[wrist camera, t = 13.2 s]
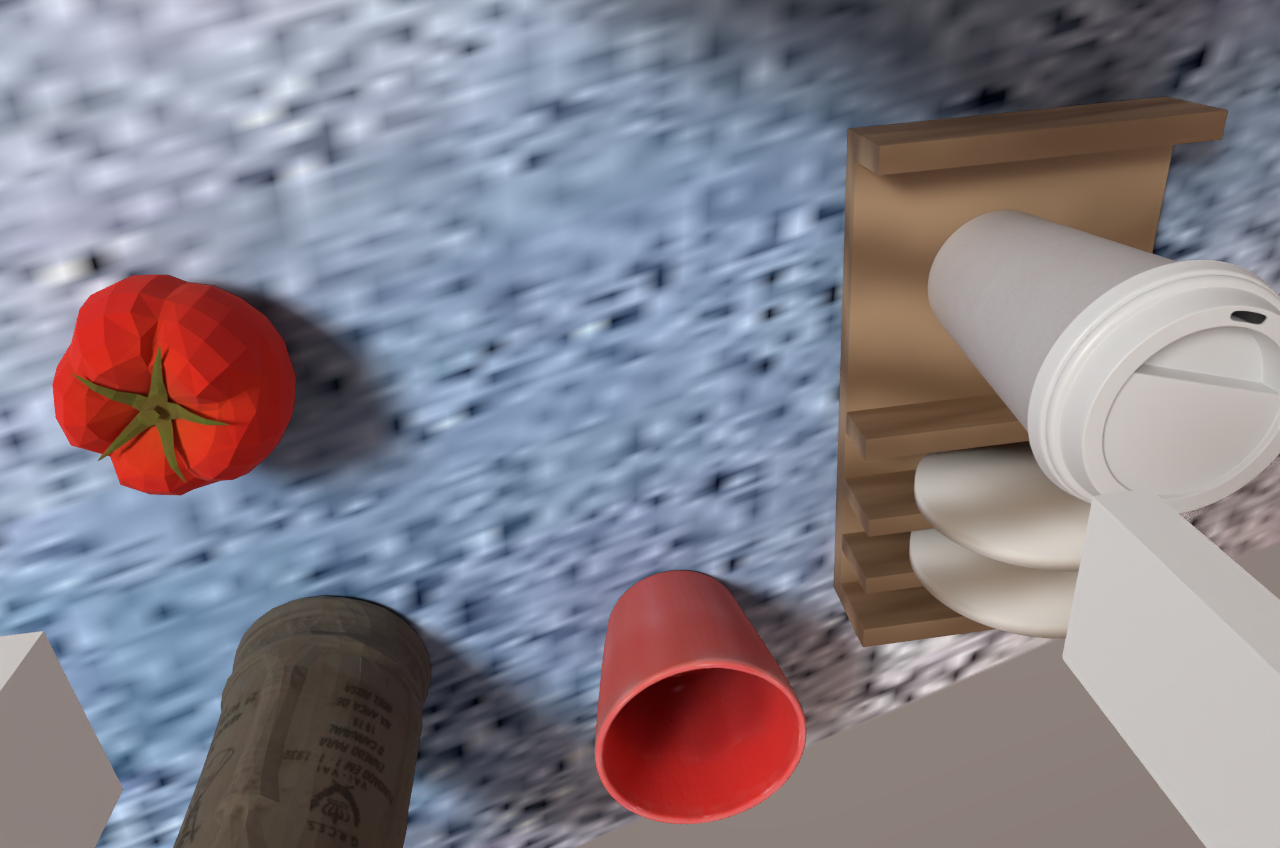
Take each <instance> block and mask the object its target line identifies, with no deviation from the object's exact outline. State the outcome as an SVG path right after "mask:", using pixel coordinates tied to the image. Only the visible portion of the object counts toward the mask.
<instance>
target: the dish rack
mask: <svg viewBox="0 0 1280 848" xmlns="http://www.w3.org/2000/svg"><path fill="white" fill-rule="evenodd" d="M1227 114H1228V110H1225V109H1221V108H1216V107H1211V106H1207V105H1202V104H1198V103H1193V102H1188V101H1184V100H1179V99H1175V98H1170V97H1156V98H1146V99H1136V100H1126V101H1116V102H1107V103H1097V104H1087V105H1077V106H1067V107H1057V108H1047V109H1037V110H1027V111H1018V112H1008V113H998V114H988V115H978V116H968V117H958V118H948V119H939V120H929V121H919V122H909V123H899V124H889V125H879V126H869V127H860V128H850V129H848V139H847V171H846V204H845V237H844V269H843V302H842V335H841V368H840V400H839V433H838V466H837V499H836V531H835V564H834V588H835V591H836V593H837V595H838V597H839V599H840V601H841V603H842V605H843V607H844V609H845V611H846V613H847V615H848V617H849V619H850V622H851V624H852V626H853V628H854V630H855V632H856V634H857V636H858V638H859V640H860V642H861V644H862V646H863V647H868V646H875V645H883V644H890V643H897V642H904V641H912V640H919V639H926V638H934V637H941V636H948V635H955V634H963V633H970V632H977V631H984V630H992V629H998V630H1002V631H1006V632H1010V633H1014V634H1019V635H1025V636H1031V637H1041V638H1066V635H1067V630H1068V625H1069V619H1070V614H1071V609H1072V603H1073V598H1074V593H1075V588H1076V582H1077V577H1078V572H1079V567H1080V561H1081V556H1082V551H1083V545H1084V540H1085V535H1086V530H1087V524H1088V519H1089V514H1090V508H1091V504H1090V503H1088V502H1085V501H1083V500H1081V499H1079V498H1077V497H1075V496H1072V495H1070V494H1068V493H1067V492H1065V491H1063V490H1062V489H1060V488H1059V487H1058V486H1056V485H1055V484H1054V483H1053V482H1052V481H1051V480H1050V479H1049V478H1048V477H1047V476H1046V475H1045V474H1044V472H1043V471H1042V470H1041V468H1040V466H1039V465H1038V463H1037V461H1036V459H1035V457H1034V454H1033V452H1032V449H1031V445H1030V441H1029V435H1028V432H1027V430H1026V429H1025V428H1024V427H1023V425H1022V424H1021V423H1020V422H1019V420H1018V419H1017V418H1016V417H1015V415H1014V414H1013V413H1012V412H1011V410H1010V409H1009V408H1008V407H1007V405H1006V404H1005V403H1004V402H1003V400H1002V399H1001V398H1000V397H999V396H998V394H997V393H996V392H995V391H994V389H993V388H992V387H991V386H990V384H989V383H988V382H987V381H986V379H985V378H984V377H983V376H982V375H981V373H980V372H979V371H978V370H977V368H976V367H975V366H974V365H973V363H972V362H971V361H970V360H969V359H968V357H967V356H966V355H965V354H964V352H963V351H962V350H961V349H960V348H959V346H958V345H957V344H956V343H955V341H954V340H953V339H952V338H951V336H950V335H949V334H948V333H947V332H946V330H945V329H944V328H943V327H942V325H941V324H940V323H939V322H938V320H937V319H936V317H935V316H934V314H933V312H932V310H931V307H930V304H929V299H928V278H929V274H930V270H931V267H932V264H933V262H934V259H935V257H936V255H937V253H938V252H939V250H940V249H941V247H942V246H943V244H944V243H945V242H946V240H947V239H948V238H949V237H950V236H951V235H952V234H953V233H954V232H955V231H956V230H957V229H959V228H960V227H961V226H962V225H964V224H965V223H967V222H969V221H970V220H972V219H974V218H976V217H978V216H980V215H983V214H986V213H989V212H993V211H999V210H1016V211H1021V212H1025V213H1028V214H1031V215H1034V216H1037V217H1041V218H1044V219H1047V220H1050V221H1053V222H1056V223H1059V224H1062V225H1065V226H1068V227H1071V228H1074V229H1077V230H1080V231H1083V232H1087V233H1090V234H1093V235H1096V236H1099V237H1102V238H1105V239H1108V240H1111V241H1114V242H1117V243H1120V244H1124V245H1127V246H1130V247H1133V248H1136V249H1139V250H1142V251H1145V252H1149V253H1152V252H1153V247H1154V241H1155V236H1156V231H1157V226H1158V221H1159V216H1160V211H1161V206H1162V201H1163V196H1164V191H1165V186H1166V180H1167V175H1168V170H1169V165H1170V160H1171V155H1172V150H1173V145H1175V144H1184V143H1194V142H1203V141H1213V140H1222V136H1223V132H1224V127H1225V123H1226V118H1227Z"/></svg>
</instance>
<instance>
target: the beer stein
mask: <svg viewBox="0 0 1280 848" xmlns="http://www.w3.org/2000/svg"><path fill="white" fill-rule="evenodd" d="M430 680H431V665H430V661H429V656H428V652H427V650H426V648H425V646H424V644H423V642H422V640H421V639H420V638H419V636H418V635H417V634H416V633H415V632H414V631H413V629H412V628H411V627H410V626H409V625H408V624H407V623H406V622H405V621H403V620H402V619H401V618H400V617H398V616H397V615H395V614H393V613H392V612H390V611H388V610H387V609H385V608H383V607H380V606H377V605H374V604H371V603H368V602H365V601H361V600H356V599H350V598H343V597H330V596H317V597H307V598H301V599H297V600H293V601H290V602H288V603H285V604H283V605H281V606H278V607H276V608H273V609H271V610H270V611H268V612H267V613H266V614H264V615H263V616H261V617H260V618H259V619H258V620H257V621H256V622H255V623H254V624H253V625H252V626H251V627H250V628H249V629H248V631H247V632H246V633H245V634H244V636H243V638H242V640H241V642H240V644H239V646H238V648H237V651H236V655H235V660H234V664H233V673H232V674H231V676H230V677H229V678H228V680H227V683H226V685H225V688H224V690H223V693H222V701H221V715H220V719H219V722H218V725H217V728H216V731H215V734H214V737H213V740H212V743H211V746H210V749H209V752H208V755H207V758H206V761H205V764H204V767H203V770H202V773H201V776H200V778H199V781H198V784H197V786H196V789H195V792H194V794H193V797H192V800H191V802H190V805H189V807H188V810H187V813H186V815H185V818H184V821H183V823H182V826H181V829H180V831H179V834H178V837H177V839H176V842H175V844H174V847H173V848H403V844H404V840H405V835H406V830H407V820H408V809H409V804H410V798H411V792H412V786H413V780H414V773H415V766H416V760H417V755H418V750H419V745H420V736H421V731H422V715H423V709H422V705H423V703H424V701H425V699H426V696H427V693H428V689H429V685H430Z"/></svg>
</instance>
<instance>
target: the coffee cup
mask: <svg viewBox="0 0 1280 848" xmlns="http://www.w3.org/2000/svg"><path fill="white" fill-rule="evenodd" d="M928 299H929V304H930V307H931V310H932V312H933V314H934V316H935V317H936V319H937V320H938V322H939V323H940V324H941V325H942V327H943V328H944V329H945V330H946V332H947V333H948V334H949V335H950V336H951V338H952V339H953V340H954V341H955V343H956V344H957V345H958V346H959V348H960V349H961V350H962V351H963V352H964V354H965V355H966V356H967V357H968V359H969V360H970V361H971V362H972V363H973V365H974V366H975V367H976V368H977V370H978V371H979V372H980V373H981V375H982V376H983V377H984V378H985V379H986V381H987V382H988V383H989V384H990V386H991V387H992V388H993V389H994V391H995V392H996V393H997V394H998V396H999V397H1000V398H1001V399H1002V400H1003V402H1004V403H1005V404H1006V405H1007V407H1008V408H1009V409H1010V410H1011V412H1012V413H1013V414H1014V415H1015V417H1016V418H1017V419H1018V420H1019V422H1020V423H1021V424H1022V425H1023V427H1024V428H1025V429H1026V430H1027V432H1028V435H1029V441H1030V445H1031V449H1032V452H1033V454H1034V457H1035V459H1036V461H1037V463H1038V465H1039V466H1040V468H1041V470H1042V471H1043V472H1044V474H1045V475H1046V476H1047V477H1048V478H1049V479H1050V480H1051V481H1052V482H1053V483H1054V484H1055V485H1056V486H1058V487H1059V488H1060V489H1062V490H1063V491H1065V492H1067V493H1068V494H1070V495H1072V496H1075V497H1077V498H1079V499H1081V500H1083V501H1085V502H1088V503H1090V504H1091V503H1092V498H1093V496H1096V495H1104V494H1112V493H1120V492H1128V491H1135V490H1143V489H1151V490H1152V491H1153V492H1154V493H1155V494H1157V495H1158V496H1159V497H1160V498H1161V499H1162V500H1164V501H1165V502H1166V503H1167V504H1168V505H1169V506H1171V507H1172V508H1173V509H1174V510H1175V511H1176V512H1178V513H1179V514H1181V513H1185V512H1189V511H1193V510H1197V509H1200V508H1203V507H1205V506H1208V505H1210V504H1213V503H1215V502H1217V501H1219V500H1221V499H1223V498H1225V497H1227V496H1229V495H1231V494H1232V493H1234V492H1236V491H1237V490H1239V489H1240V488H1242V487H1243V486H1245V485H1246V484H1247V483H1249V482H1250V481H1251V480H1253V479H1254V478H1255V477H1256V476H1258V475H1259V474H1260V473H1261V472H1262V471H1263V470H1264V469H1265V468H1267V467H1268V466H1269V465H1270V464H1271V462H1272V461H1273V460H1274V459H1275V458H1276V457H1277V456H1278V455H1279V454H1280V296H1279V295H1278V294H1277V293H1276V292H1275V291H1274V290H1273V289H1272V288H1271V287H1270V286H1269V285H1268V284H1267V283H1266V282H1265V281H1264V280H1262V279H1261V278H1260V277H1258V276H1257V275H1256V274H1254V273H1252V272H1251V271H1249V270H1247V269H1244V268H1242V267H1240V266H1237V265H1234V264H1230V263H1226V262H1221V261H1214V260H1189V261H1181V262H1177V261H1174V260H1171V259H1167V258H1164V257H1161V256H1158V255H1155V254H1152V253H1149V252H1145V251H1142V250H1139V249H1136V248H1133V247H1130V246H1127V245H1124V244H1120V243H1117V242H1114V241H1111V240H1108V239H1105V238H1102V237H1099V236H1096V235H1093V234H1090V233H1087V232H1083V231H1080V230H1077V229H1074V228H1071V227H1068V226H1065V225H1062V224H1059V223H1056V222H1053V221H1050V220H1047V219H1044V218H1041V217H1037V216H1034V215H1031V214H1028V213H1025V212H1021V211H1016V210H999V211H993V212H989V213H986V214H983V215H980V216H978V217H976V218H974V219H972V220H970V221H969V222H967V223H965V224H964V225H962V226H961V227H960V228H959V229H957V230H956V231H955V232H954V233H953V234H952V235H951V236H950V237H949V238H948V239H947V240H946V242H945V243H944V244H943V246H942V247H941V249H940V250H939V252H938V253H937V255H936V257H935V259H934V262H933V264H932V267H931V270H930V274H929V278H928Z"/></svg>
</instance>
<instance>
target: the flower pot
mask: <svg viewBox="0 0 1280 848" xmlns="http://www.w3.org/2000/svg"><path fill="white" fill-rule="evenodd" d="M805 741H806V720H805V715H804V712H803V709H802V706H801V704H800V702H799V700H798V698H797V696H796V694H795V692H794V690H793V689H792V687H791V685H790V683H789V682H788V680H787V678H786V677H785V675H784V674H783V672H782V670H781V669H780V667H779V666H778V664H777V663H776V661H775V659H774V658H773V656H772V655H771V653H770V652H769V650H768V648H767V647H766V645H765V644H764V642H763V641H762V639H761V638H760V636H759V635H758V633H757V632H756V630H755V629H754V627H753V626H752V624H751V623H750V621H749V620H748V618H747V617H746V615H745V614H744V612H743V610H742V609H741V607H740V606H739V604H738V603H737V601H736V600H735V598H734V597H733V595H732V594H731V593H730V591H729V590H728V589H727V588H726V587H725V586H724V585H723V584H721V583H720V582H719V581H717V580H716V579H714V578H712V577H710V576H708V575H705V574H702V573H699V572H694V571H685V570H674V571H666V572H662V573H657V574H654V575H652V576H649V577H647V578H645V579H643V580H641V581H639V582H637V583H636V584H634V585H633V586H632V587H631V588H629V589H628V590H627V591H626V592H625V593H624V594H623V595H622V596H621V597H620V599H619V600H618V602H617V603H616V605H615V607H614V609H613V610H612V612H611V615H610V618H609V623H608V628H607V634H606V640H605V647H604V654H603V662H602V671H601V681H600V692H599V703H598V714H597V725H596V737H595V762H596V768H597V771H598V774H599V777H600V779H601V781H602V783H603V785H604V787H605V788H606V790H607V791H608V792H609V794H610V795H611V796H612V797H613V798H614V799H615V800H616V801H617V802H618V803H619V804H621V805H622V806H623V807H625V808H626V809H628V810H630V811H631V812H633V813H636V814H638V815H640V816H642V817H645V818H648V819H651V820H655V821H659V822H665V823H674V824H695V823H705V822H711V821H716V820H720V819H723V818H727V817H731V816H733V815H736V814H739V813H741V812H743V811H746V810H748V809H750V808H752V807H754V806H756V805H757V804H759V803H761V802H762V801H764V800H765V799H767V798H768V797H770V796H771V795H772V794H773V793H774V792H776V791H777V790H778V789H779V788H780V787H781V786H782V785H783V784H784V783H785V782H786V781H787V780H788V779H789V777H790V775H791V774H792V773H793V771H794V770H795V768H796V767H797V765H798V763H799V761H800V759H801V756H802V754H803V750H804V747H805Z"/></svg>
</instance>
